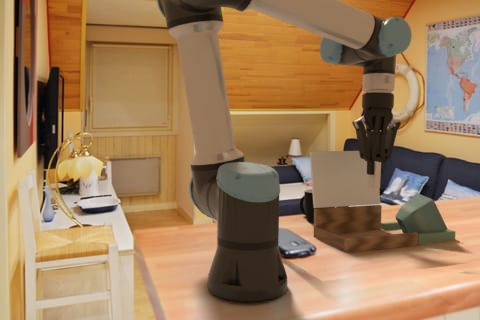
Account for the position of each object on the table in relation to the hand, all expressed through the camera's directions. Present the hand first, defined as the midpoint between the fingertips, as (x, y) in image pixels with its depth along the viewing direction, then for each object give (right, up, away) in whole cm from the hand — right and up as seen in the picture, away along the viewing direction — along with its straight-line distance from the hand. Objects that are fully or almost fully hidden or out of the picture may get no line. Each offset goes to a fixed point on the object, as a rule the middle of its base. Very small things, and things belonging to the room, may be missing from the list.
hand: (374, 187), depth 115 cm
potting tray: (+12, -13, +5) cm, 19 cm away
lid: (-5, +2, +7) cm, 9 cm away
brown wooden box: (-2, -13, 0) cm, 14 cm away
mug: (-11, -12, +20) cm, 26 cm away
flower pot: (+8, -11, +4) cm, 14 cm away
